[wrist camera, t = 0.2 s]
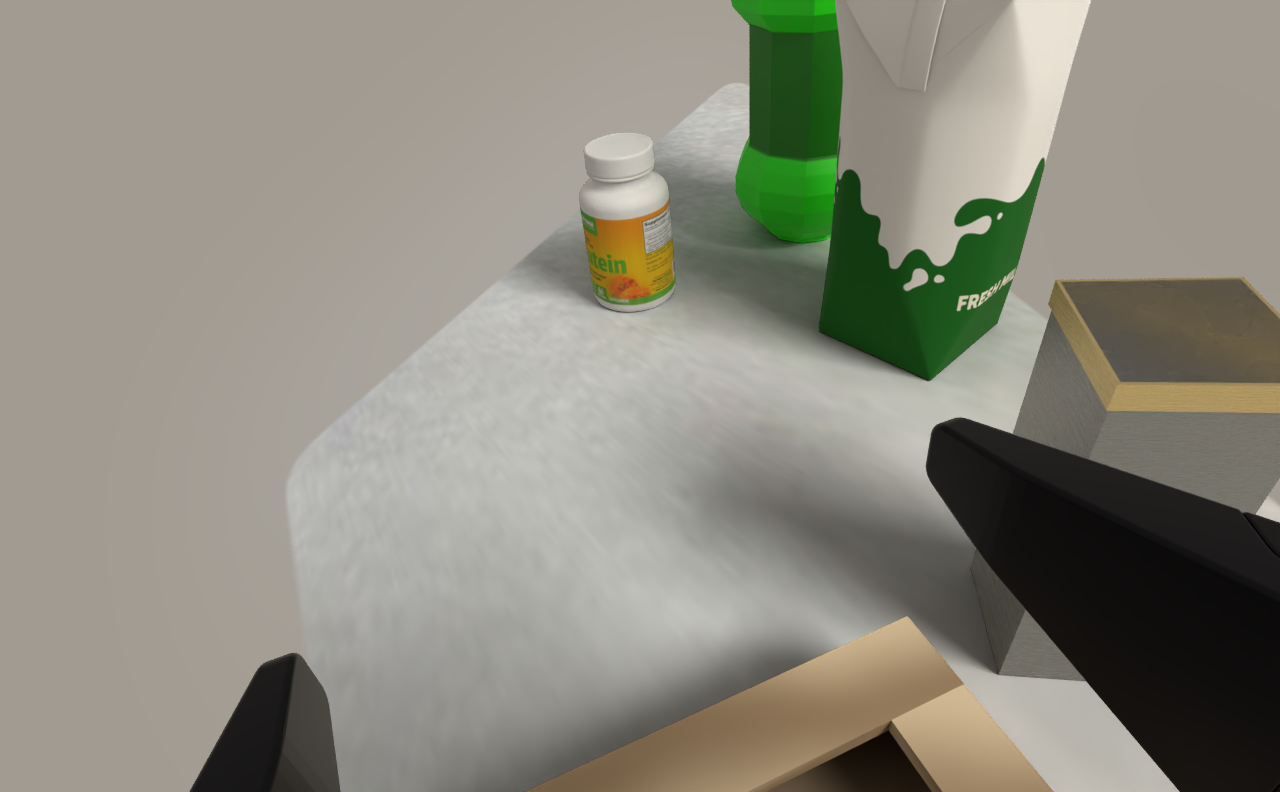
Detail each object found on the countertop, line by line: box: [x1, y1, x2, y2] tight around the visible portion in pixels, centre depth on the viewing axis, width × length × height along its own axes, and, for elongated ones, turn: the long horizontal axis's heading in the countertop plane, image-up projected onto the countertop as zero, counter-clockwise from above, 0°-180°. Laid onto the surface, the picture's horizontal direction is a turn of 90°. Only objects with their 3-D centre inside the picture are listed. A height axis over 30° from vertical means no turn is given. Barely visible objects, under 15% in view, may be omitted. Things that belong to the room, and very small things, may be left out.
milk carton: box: [819, 0, 1091, 380], centre depth 35 cm, size 9×9×20 cm
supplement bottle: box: [579, 133, 675, 312], centre depth 44 cm, size 5×5×10 cm
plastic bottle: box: [731, 0, 843, 243], centre depth 44 cm, size 10×10×25 cm
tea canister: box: [971, 277, 1280, 681], centre depth 22 cm, size 5×5×13 cm
